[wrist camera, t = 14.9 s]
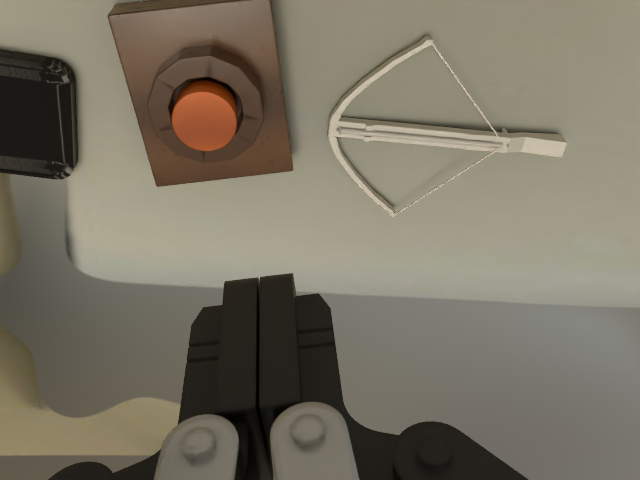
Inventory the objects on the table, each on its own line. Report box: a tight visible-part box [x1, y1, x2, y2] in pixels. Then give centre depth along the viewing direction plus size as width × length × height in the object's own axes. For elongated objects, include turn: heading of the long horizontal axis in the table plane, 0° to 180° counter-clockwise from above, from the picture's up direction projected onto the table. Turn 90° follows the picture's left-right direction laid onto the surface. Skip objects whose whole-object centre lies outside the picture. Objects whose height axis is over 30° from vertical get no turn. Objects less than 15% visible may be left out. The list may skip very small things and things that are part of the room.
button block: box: [108, 0, 293, 187], centre depth 37 cm, size 11×9×4 cm
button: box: [172, 80, 238, 151], centre depth 35 cm, size 4×4×2 cm
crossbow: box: [328, 36, 567, 217], centre depth 41 cm, size 16×13×2 cm
